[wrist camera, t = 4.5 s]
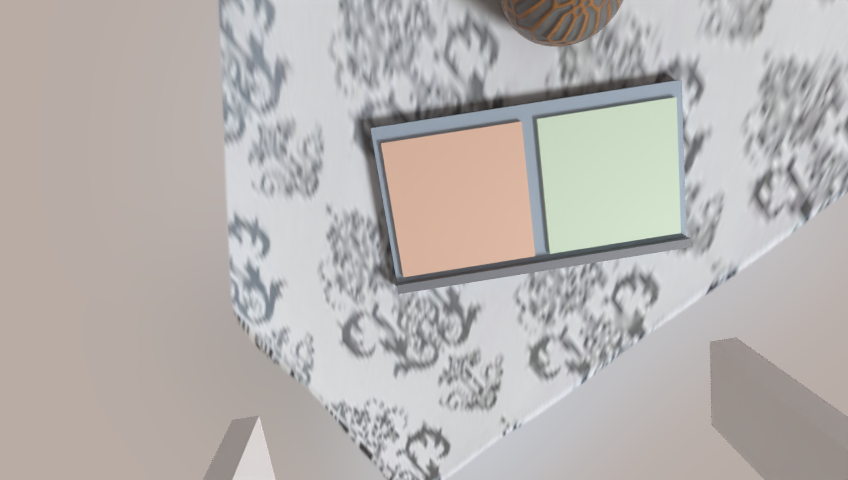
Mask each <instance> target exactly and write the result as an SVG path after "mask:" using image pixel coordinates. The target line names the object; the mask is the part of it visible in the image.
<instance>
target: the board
mask: <svg viewBox="0 0 848 480" xmlns="http://www.w3.org/2000/svg"><path fill="white" fill-rule="evenodd" d="M371 134H372V140H373V146H374V152H375V157H376V163H377V169H378V175H379V181H380V187H381V192H382V198H383V204H384V210H385V216H386V222H387V227H388V233H389V239H390V245H391V251H392V256H393V262H394V268H395V274H396V280H397V288H398V294H401V293H407V292H414V291H420V290H426V289H432V288H439V287H445V286H451V285H457V284H464V283H470V282H476V281H482V280H489V279H495V278H501V277H507V276H513V275H520V274H526V273H532V272H538V271H545V270H551V269H557V268H563V267H570V266H576V265H582V264H588V263H595V262H601V261H607V260H613V259H620V258H626V257H632V256H638V255H644V254H651V253H657V252H663V251H669V250H676V249H682V248H688V247H691V239H690V238H688V237H686V216H685V181H684V147H683V112H682V80H674V81H667V82H661V83H654V84H648V85H642V86H635V87H629V88H622V89H616V90H610V91H603V92H597V93H590V94H584V95H577V96H571V97H565V98H558V99H552V100H545V101H539V102H533V103H526V104H520V105H513V106H507V107H501V108H494V109H488V110H481V111H475V112H468V113H462V114H456V115H449V116H443V117H436V118H430V119H424V120H417V121H411V122H404V123H398V124H392V125H385V126H379V127H372V128H371Z"/></svg>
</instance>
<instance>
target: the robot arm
mask: <svg viewBox="0 0 848 480" xmlns="http://www.w3.org/2000/svg"><path fill="white" fill-rule="evenodd" d="M710 362H711V363H710V366H711V413H712V414H711V415H712V416H711V417H712V426H713V427H714V428H715V429H716V430H717V431H718V432H719V433H720V434H721V435H722V436H723V437H724V438H725V439H726V440H727V441H728V442H729V443H730V444H731V445H732V446H733V448H734V449H735V450H736V451H737V452H738V453H739V454H740V455H741V456H742V457H743V458H744V459H745V460H746V461H747V462H748V463H749V464H750V465H751V466H752V467H753V468H754V469H755V470H756V471H757V472H758V473H759V474H760V476H761V477H762V478H763V479H764V480H848V417H847V416H846V415H844V414H843V413H842V412H840V411H839V410H838V409H836V408H835V407H833V406H832V405H831V404H829V403H828V402H826V401H825V400H823V399H822V398H821V397H819V396H818V395H816V394H815V393H813V392H812V391H811V390H809V389H808V388H807V387H805V386H804V385H802V384H801V383H799V382H798V381H797V380H795V379H794V378H792V377H791V376H790V375H788V374H787V373H785V372H784V371H783V370H781V369H779V368H778V367H777V366H776V365H774V364H773V363H771V362H770V361H768V360H767V359H766V358H764V357H763V356H761V355H760V354H759V353H757V352H756V351H754V350H753V349H752V348H750V347H749V346H747V345H746V344H744V343H743V342H742V341H740V340H739V339H737V338H730V339H724V340H718V341H712V342H710ZM203 480H275V476H274V472H273V468H272V464H271V460H270V456H269V452H268V449H267V445H266V441H265V437H264V433H263V429H262V425H261V421H260V418H259V416H254V417H248V418H242V419H235V420H232V422H231V424H230V426H229V428H228V430H227V432H226V434H225V436H224V438H223V440H222V442H221V444H220V446H219V448H218V450H217V452H216V455H215V456H214V459H213V460H212V462H211V464H210V467H209V469H208V471H207V473H206V475H205V477H204V479H203Z"/></svg>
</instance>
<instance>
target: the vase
mask: <svg viewBox="0 0 848 480" xmlns="http://www.w3.org/2000/svg"><path fill="white" fill-rule="evenodd" d="M622 2H623V0H500V3H501V7H502V10H503V12H504V14H505V16H506V18H507V20H508V21H509V23H510V24H511V26H512V27H513V28H514V29H515V30H516V31H517V32H518V33H519V34H520V35H522V36H523V37H525V38H526V39H528V40H530V41H532V42H534V43H537V44H540V45H544V46H567V45H572V44H575V43H578V42H581V41H583V40H586V39H588V38H590V37H591V36H593V35H595V34H596V33H597V32H599V31H600V30H601V29H602V28H603V27H605V26H606V25H607V24H608V23H609V21H610V20H611V19H612V18H613V17H614V15H615V14H616V12H617V11H618V9H619V8H620V6H621V4H622Z"/></svg>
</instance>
